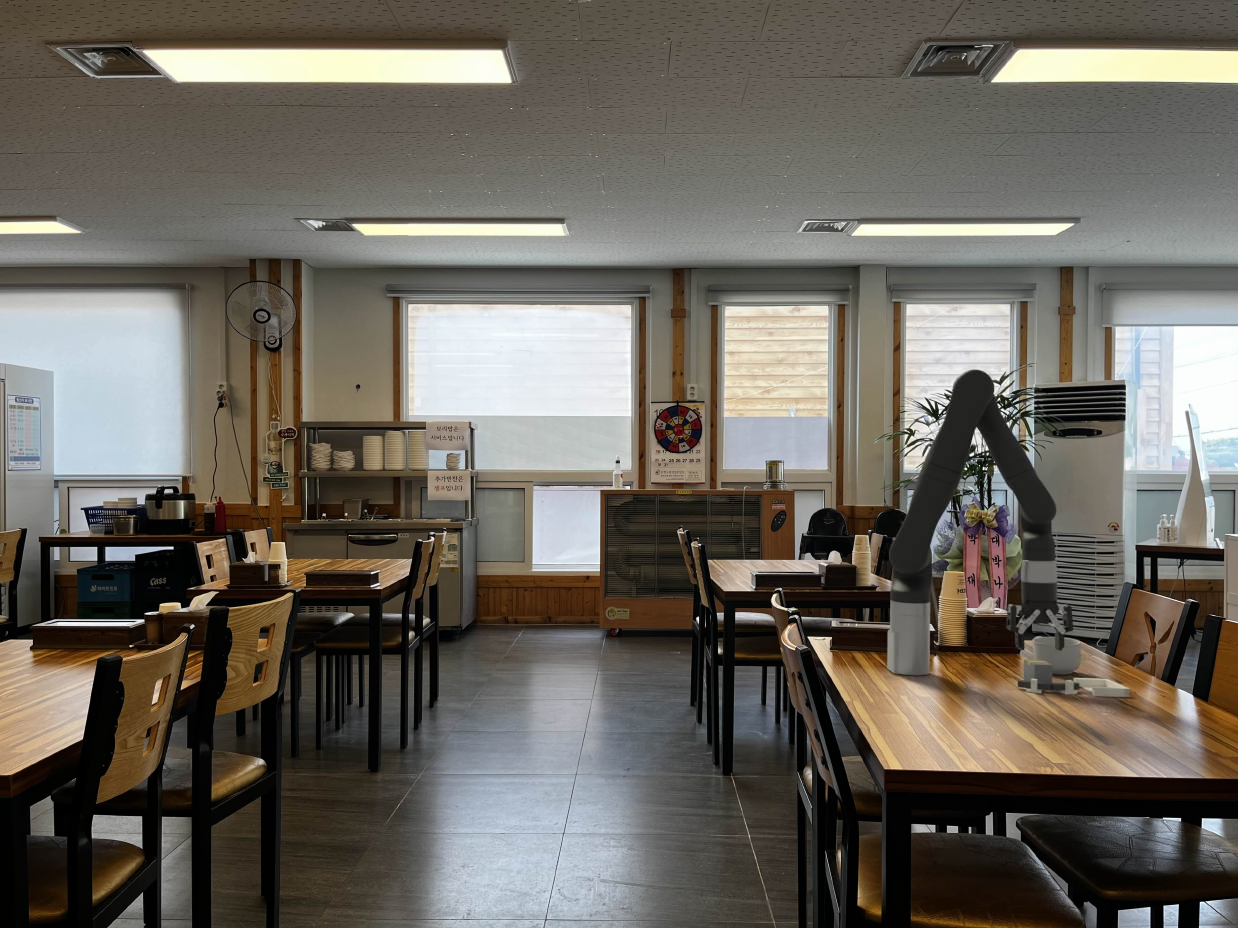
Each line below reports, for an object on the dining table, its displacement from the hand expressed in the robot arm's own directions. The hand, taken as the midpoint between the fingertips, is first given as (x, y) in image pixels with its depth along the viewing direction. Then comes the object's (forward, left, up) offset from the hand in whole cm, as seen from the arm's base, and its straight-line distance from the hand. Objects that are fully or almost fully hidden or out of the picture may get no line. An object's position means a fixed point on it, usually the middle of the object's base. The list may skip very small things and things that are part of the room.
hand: (1040, 649), depth 211 cm
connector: (0, 0, -8) cm, 8 cm away
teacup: (+10, +15, -8) cm, 20 cm away
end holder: (+11, -7, -8) cm, 15 cm away
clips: (-1, -8, -8) cm, 11 cm away
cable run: (-1, -8, -8) cm, 11 cm away
